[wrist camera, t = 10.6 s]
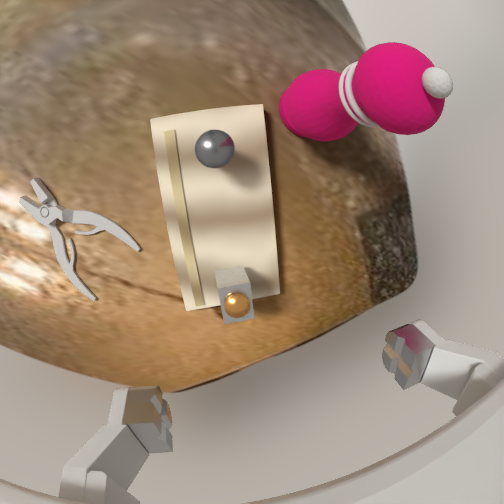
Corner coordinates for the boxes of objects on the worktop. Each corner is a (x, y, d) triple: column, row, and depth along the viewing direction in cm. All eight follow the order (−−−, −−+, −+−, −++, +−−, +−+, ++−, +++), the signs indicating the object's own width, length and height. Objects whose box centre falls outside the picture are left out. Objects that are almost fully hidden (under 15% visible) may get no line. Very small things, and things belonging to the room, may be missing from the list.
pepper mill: (261, 117, 27) (373, 75, 9) (295, 67, 26) (421, -5, 7) (315, 154, 30) (461, 178, 11) (345, 105, 28) (493, 89, 10)
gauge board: (152, 120, 25) (150, 119, 24) (259, 106, 27) (263, 103, 25) (186, 304, 33) (186, 311, 31) (276, 287, 34) (280, 294, 33)
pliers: (90, 305, 29) (7, 221, 24) (94, 299, 31) (13, 217, 25) (140, 250, 28) (47, 155, 23) (142, 245, 30) (54, 154, 24)
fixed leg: (193, 135, 25) (192, 132, 21) (225, 131, 26) (232, 127, 21) (197, 167, 26) (197, 171, 22) (229, 162, 27) (236, 165, 22)
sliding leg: (213, 267, 30) (218, 291, 25) (241, 262, 30) (251, 285, 26) (219, 299, 32) (225, 327, 27) (245, 294, 32) (255, 321, 27)
